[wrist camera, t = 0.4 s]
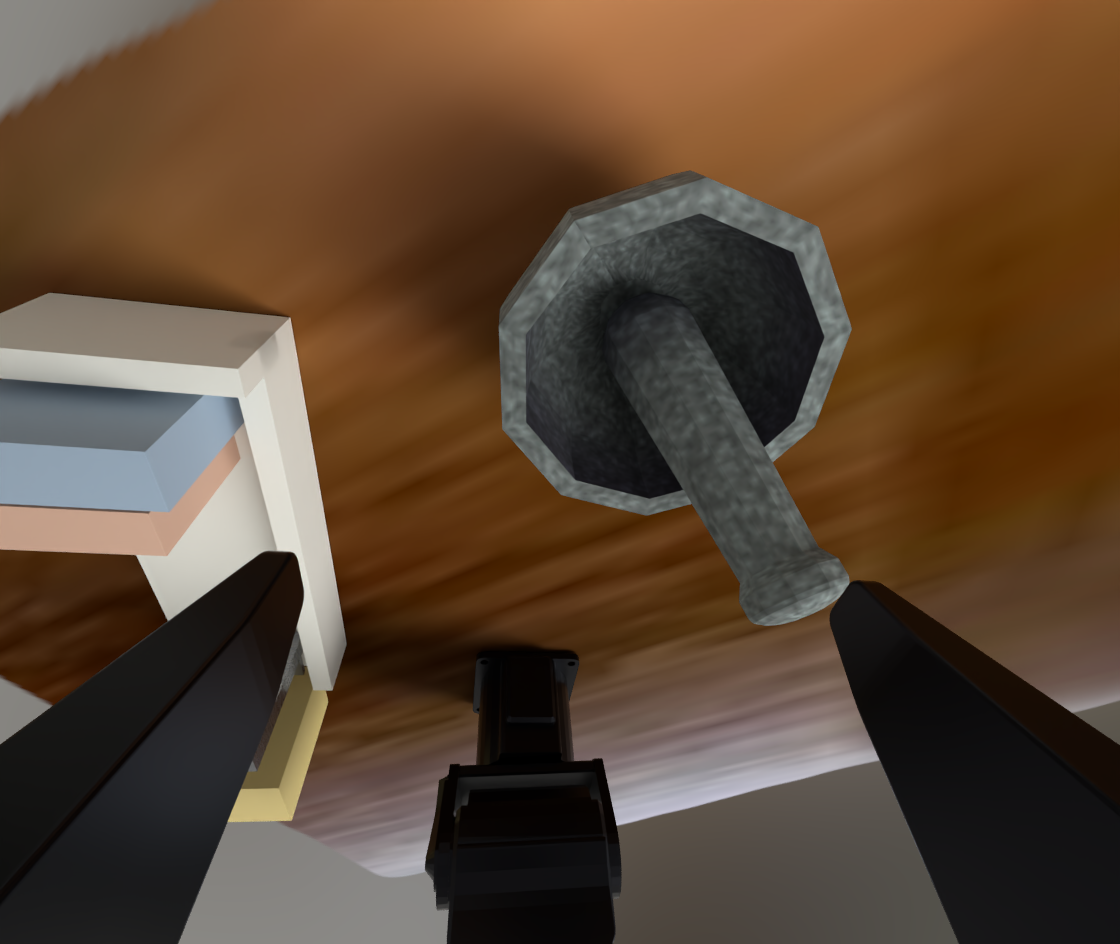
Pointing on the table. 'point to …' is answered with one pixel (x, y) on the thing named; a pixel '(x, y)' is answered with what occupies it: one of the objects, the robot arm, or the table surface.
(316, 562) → the shelf
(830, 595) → the mortar and pestle
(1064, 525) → the table surface
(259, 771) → the ochre book
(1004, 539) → the table surface
